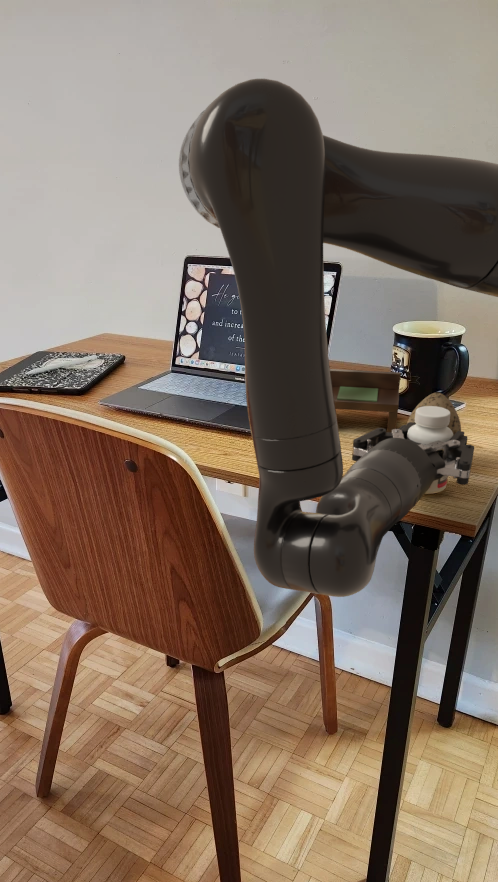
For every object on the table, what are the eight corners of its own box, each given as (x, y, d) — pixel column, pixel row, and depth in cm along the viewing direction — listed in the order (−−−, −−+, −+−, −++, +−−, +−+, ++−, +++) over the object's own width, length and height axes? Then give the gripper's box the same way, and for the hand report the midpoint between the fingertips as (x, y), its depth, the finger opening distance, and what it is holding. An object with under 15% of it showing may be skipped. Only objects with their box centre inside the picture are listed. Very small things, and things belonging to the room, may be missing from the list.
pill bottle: (431, 474, 89) (441, 401, 84) (454, 491, 84) (466, 416, 80) (393, 479, 87) (401, 406, 83) (414, 497, 83) (424, 420, 78)
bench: (395, 418, 108) (400, 372, 105) (395, 437, 101) (400, 388, 98) (319, 413, 111) (321, 368, 108) (313, 431, 104) (316, 383, 101)
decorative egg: (395, 469, 91) (403, 397, 87) (407, 450, 97) (415, 382, 92) (451, 479, 88) (462, 405, 84) (460, 458, 94) (470, 388, 90)
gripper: (458, 465, 67) (501, 415, 80) (324, 438, 74) (383, 395, 87) (448, 532, 71) (491, 474, 83) (321, 500, 78) (378, 450, 90)
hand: (435, 434), depth 85 cm, fingers closed on pill bottle, 5 cm apart
